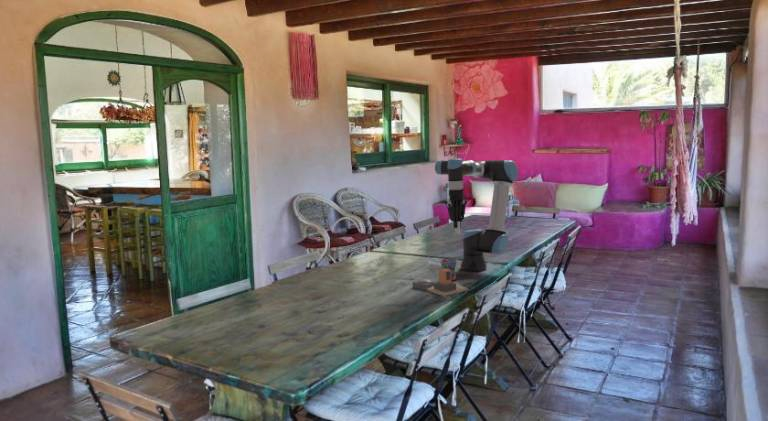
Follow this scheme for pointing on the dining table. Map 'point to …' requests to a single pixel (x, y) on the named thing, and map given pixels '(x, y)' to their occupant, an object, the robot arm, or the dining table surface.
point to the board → (446, 289)
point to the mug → (449, 266)
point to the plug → (444, 276)
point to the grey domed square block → (424, 283)
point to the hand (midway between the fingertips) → (457, 233)
